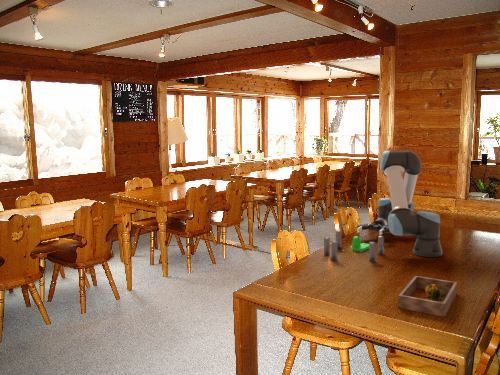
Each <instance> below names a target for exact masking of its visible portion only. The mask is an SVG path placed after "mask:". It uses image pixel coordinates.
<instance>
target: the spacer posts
mask: <svg viewBox="0 0 500 375" xmlns="http://www.w3.org/2000/svg"><path fill="white" fill-rule="evenodd" d="M330 243H331V244H330ZM368 244H369V249H368V251H369V252H368V261H369V262H371V263H372V262H373V263H375V262H376V251H377V254H378V255H380V256H381V255H382V256H383V255H385V235H378V236H377V243H376V242H375V241H369V243H368ZM376 244H377V250H376ZM338 249H342V231H341V230H335V240H332V241H331V238H330V237H328V236H325V237H323V256H324V257H330V256H331V259H330V260H331V261H333V262H335V261H338ZM330 251H331V252H330Z"/></svg>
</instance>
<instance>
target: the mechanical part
mask: <svg viewBox="0 0 500 375" xmlns="http://www.w3.org/2000/svg"><path fill="white" fill-rule="evenodd" d="M351 243H352V244H351V245H352V251H355V252H360V253H362V252H365V251H368V250H369V243H365V242H362V243H361V237H360V236H359V235H358V236H353V238H352V242H351ZM367 249H368V250H367Z"/></svg>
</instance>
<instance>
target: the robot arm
mask: <svg viewBox="0 0 500 375" xmlns="http://www.w3.org/2000/svg"><path fill="white" fill-rule="evenodd" d="M379 161H380V162H379V168H380V171H382V172H383V173H384V175H385V176H387V185H388V189H389V196H390V198H388V197H381V198H379V199H378V202H377V203H378V204H377V207H378V208H377V212H378V213H377V219H375V220H374V221H373V222H372V223H370V224H369V223H364V224H358V225H356V233H357V234H359V233H360V232H361V233H362V231H363V230H364V231H365V230H369V231H372V230H374V232H379V233H378V234H379V235H378V236H383V234H386V233H388V234H390V233H391V234H392V235H393V236H400V237H401V236H416V240H415V242H414V246H413V248H412V253H413V254H414V255H416V256H419V257H424V258H437V257H442V256H443V248H442V246H441V242H440V233H441V232H440V228H441V216H440V214H438V213H436V212H432V211H426V210H418V211H417V212H416V213H413V212H414V209H415V206H414V202H413V201H412V200H413V195H414V192H415V188H416V184H417V181H418V177H419V175H420V174H421V172H422V168H423V167H422V166H423V165H422V161H421V158H420V157H419V156H418V154H416V152H414V151H412V150H406V149H405V150H385V151H383V152H381V156H380V160H379ZM403 174H404V176H403Z"/></svg>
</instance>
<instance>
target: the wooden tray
mask: <svg viewBox="0 0 500 375" xmlns="http://www.w3.org/2000/svg"><path fill="white" fill-rule="evenodd" d="M426 281H427V282H426ZM428 284H429V285H431V284H435V285H436V284H437V286H438V285H439V287H440V288H441V286H442V288H441V289H443V290H444V291H445V294H446V298H445V300H444V299H443V300H444V301H443V300H442V301H440V302H437V301H432V300H430V299H427V298H420V297H413V296H412V295H413V293H414V292H415V291H416V289H420V290H421V289H422V290H425V289H426V288H427V286H428ZM457 289H458V282H457V281H452V280H451V281H450V280H445V279H438V278H433V277H432V278H431V277H426V276H419V275H415V276H413V278H411V280H410V281H409V282H408V283H407V285H406V286H405V287H404V288H403V289H402V291H401V292H400V293H399V294H398V302H397V303H398V305H397V306H398V307H397V308H398V309H404V310H408V311H412V312H413V311H414V312H419V313H424V314H429V315H434V316H439V317H443V318H444V317H446V315H447V313H448V311H449V310H450V308H451V305H452V303H453V302H454V300H455V299H456V296H457V293H458V290H457ZM444 291H443V292H444ZM446 291H447V292H446ZM448 291H449V292H448ZM442 302H443V303H442Z"/></svg>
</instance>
